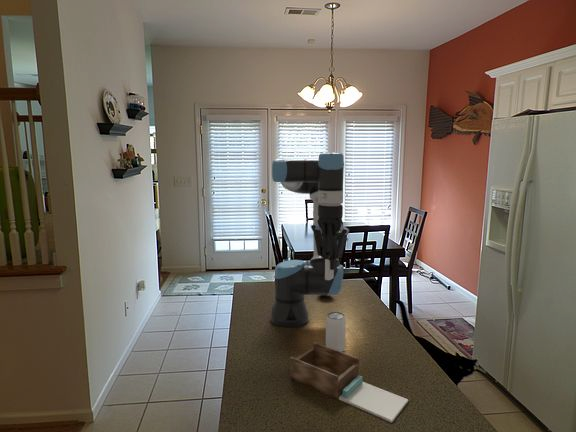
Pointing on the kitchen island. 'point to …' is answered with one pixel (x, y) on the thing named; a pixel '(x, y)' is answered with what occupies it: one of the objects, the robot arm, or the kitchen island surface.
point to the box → (325, 369)
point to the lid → (373, 399)
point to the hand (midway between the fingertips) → (329, 278)
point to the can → (335, 331)
